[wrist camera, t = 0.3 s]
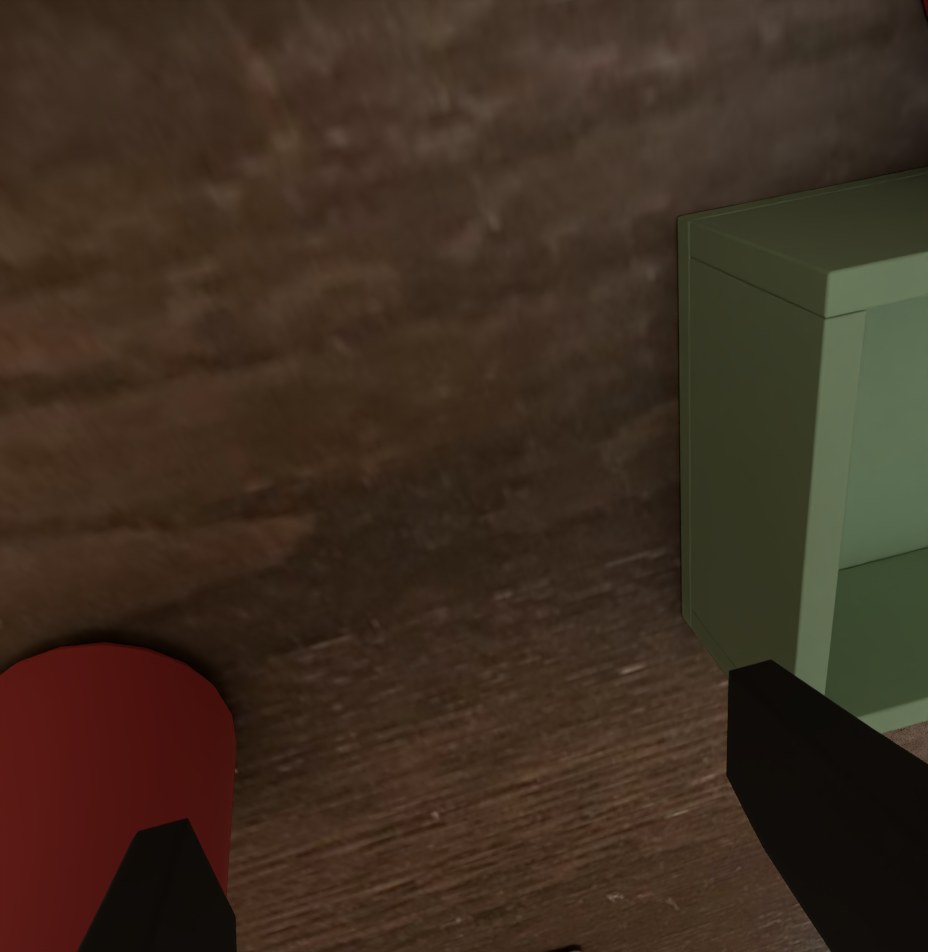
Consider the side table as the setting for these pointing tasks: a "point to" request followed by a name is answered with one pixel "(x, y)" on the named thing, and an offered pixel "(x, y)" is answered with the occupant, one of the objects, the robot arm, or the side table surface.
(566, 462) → the side table surface
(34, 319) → the side table surface
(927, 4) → the cup
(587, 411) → the side table surface
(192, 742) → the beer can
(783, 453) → the sage green bin
